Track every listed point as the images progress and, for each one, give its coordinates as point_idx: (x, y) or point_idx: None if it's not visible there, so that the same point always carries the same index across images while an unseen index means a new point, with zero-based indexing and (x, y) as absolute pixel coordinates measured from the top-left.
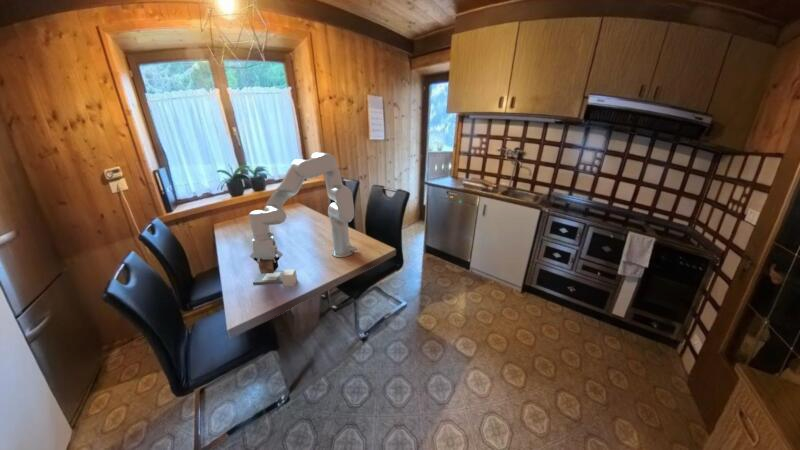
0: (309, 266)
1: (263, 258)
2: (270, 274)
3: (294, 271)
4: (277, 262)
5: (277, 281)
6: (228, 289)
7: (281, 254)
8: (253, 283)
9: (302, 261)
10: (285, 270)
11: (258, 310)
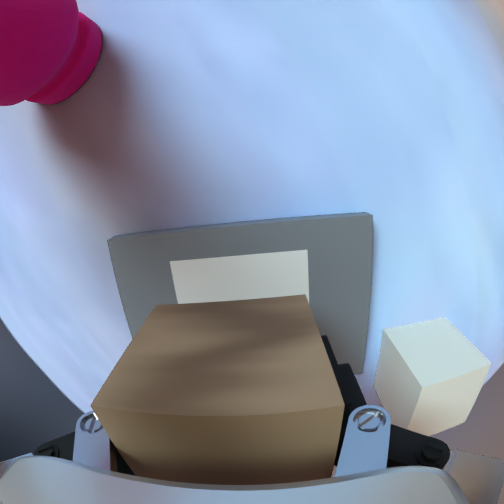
0: (481, 129)
1: (130, 447)
2: (217, 290)
3: (481, 380)
4: (363, 404)
5: None
6: (67, 396)
7: (490, 493)
8: None
9: (399, 30)
10: (425, 395)
11: None
